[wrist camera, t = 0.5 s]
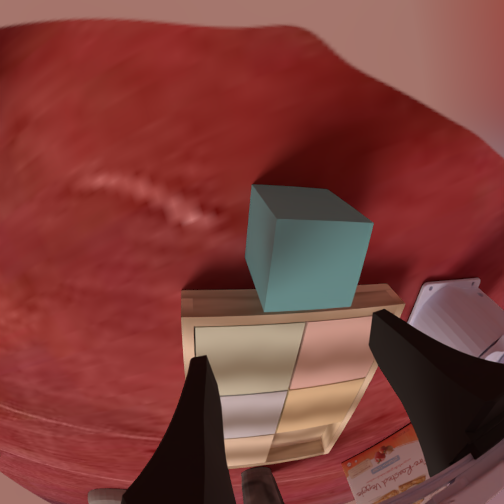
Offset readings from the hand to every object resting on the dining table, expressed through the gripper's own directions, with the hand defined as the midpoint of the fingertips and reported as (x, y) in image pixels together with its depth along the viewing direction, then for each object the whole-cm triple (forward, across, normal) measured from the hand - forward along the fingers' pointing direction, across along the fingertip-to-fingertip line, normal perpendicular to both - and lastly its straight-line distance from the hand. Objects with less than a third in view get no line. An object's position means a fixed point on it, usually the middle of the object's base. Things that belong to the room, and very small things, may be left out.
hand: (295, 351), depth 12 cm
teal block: (+10, -2, -1) cm, 10 cm away
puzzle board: (+10, 0, +15) cm, 18 cm away
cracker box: (+10, -16, +43) cm, 47 cm away
